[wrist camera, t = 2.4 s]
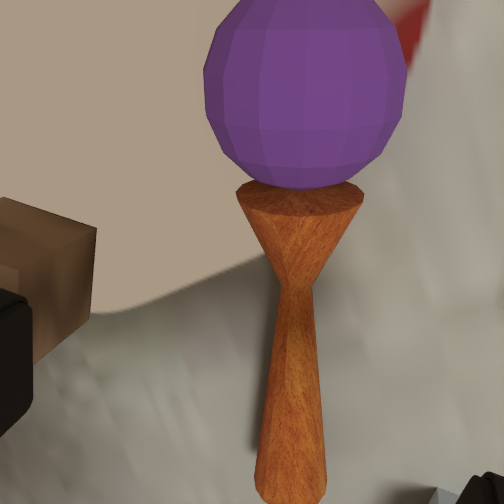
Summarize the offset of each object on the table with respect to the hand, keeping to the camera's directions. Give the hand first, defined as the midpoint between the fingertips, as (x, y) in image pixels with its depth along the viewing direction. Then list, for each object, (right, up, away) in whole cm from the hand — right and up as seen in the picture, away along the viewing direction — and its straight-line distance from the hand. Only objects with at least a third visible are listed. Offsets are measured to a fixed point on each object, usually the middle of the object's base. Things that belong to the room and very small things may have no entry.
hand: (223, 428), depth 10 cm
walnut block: (-9, +3, +14) cm, 17 cm away
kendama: (+3, +3, +10) cm, 11 cm away
